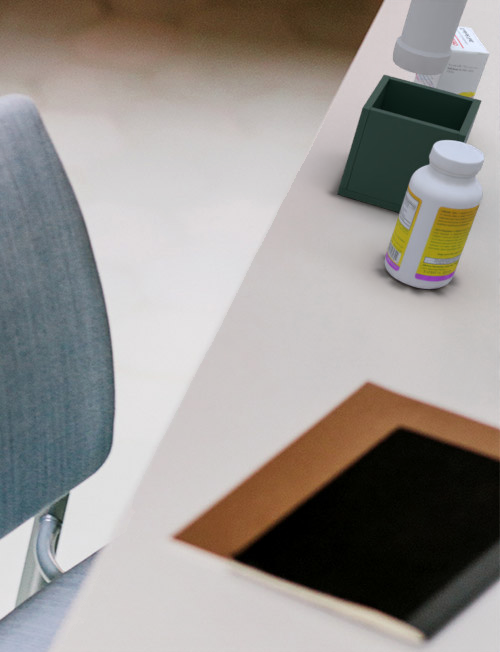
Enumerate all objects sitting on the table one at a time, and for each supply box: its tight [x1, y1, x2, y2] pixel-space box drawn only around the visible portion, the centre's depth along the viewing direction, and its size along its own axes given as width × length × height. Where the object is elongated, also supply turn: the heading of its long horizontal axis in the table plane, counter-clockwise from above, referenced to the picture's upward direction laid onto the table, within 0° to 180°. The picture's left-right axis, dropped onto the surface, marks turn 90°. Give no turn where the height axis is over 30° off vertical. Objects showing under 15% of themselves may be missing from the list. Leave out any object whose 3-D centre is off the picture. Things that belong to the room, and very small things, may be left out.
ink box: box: [413, 24, 490, 99], centre depth 137 cm, size 9×5×15 cm, turn 179°
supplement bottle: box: [384, 140, 486, 290], centre depth 112 cm, size 7×7×13 cm
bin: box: [337, 74, 482, 213], centre depth 126 cm, size 11×11×10 cm
